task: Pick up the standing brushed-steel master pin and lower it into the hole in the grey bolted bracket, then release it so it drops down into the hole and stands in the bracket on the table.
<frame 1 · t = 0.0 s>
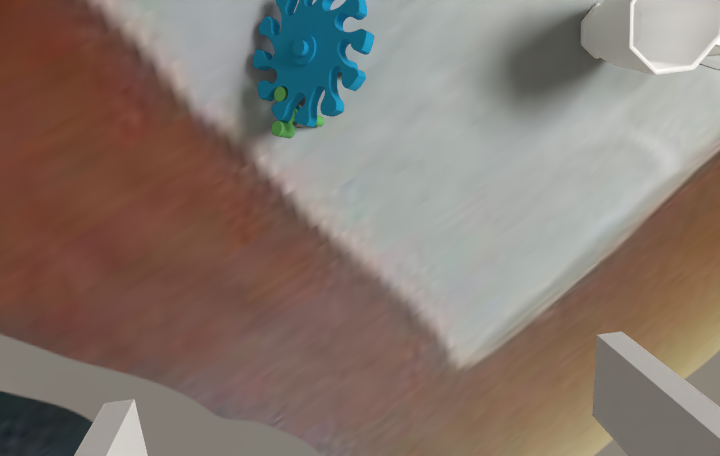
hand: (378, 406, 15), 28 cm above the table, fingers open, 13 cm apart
gear: (305, 61, 39), on the table
cup: (620, 35, 41), on the table
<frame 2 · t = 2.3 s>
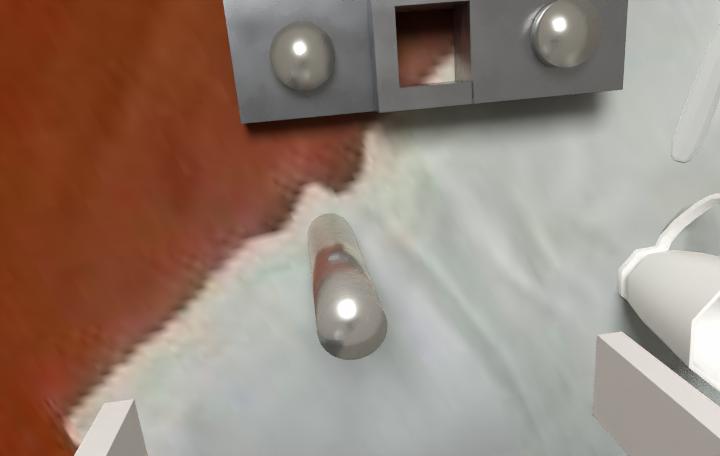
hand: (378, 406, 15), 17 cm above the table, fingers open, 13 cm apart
grey bolted bracket: (420, 48, 28), on the table
master pin: (329, 235, 31), on the table
cup: (653, 254, 34), on the table
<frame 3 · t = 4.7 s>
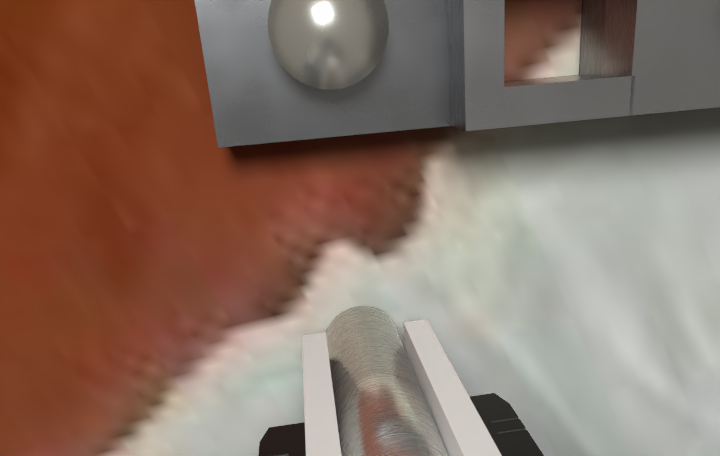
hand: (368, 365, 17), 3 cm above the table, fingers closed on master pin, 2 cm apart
grey bolted bracket: (525, 18, 17), on the table
master pin: (361, 339, 18), point 1 cm above the table, touching gripper
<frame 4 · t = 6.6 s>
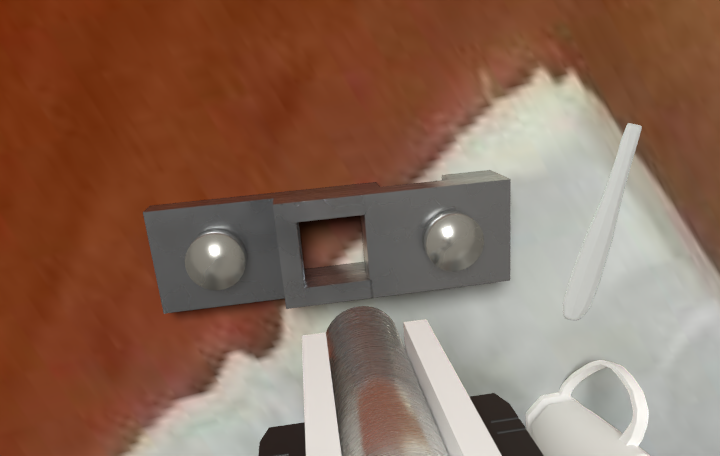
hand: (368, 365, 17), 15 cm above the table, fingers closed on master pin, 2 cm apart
grey bolted bracket: (330, 236, 31), on the table
master pin: (361, 340, 18), point 13 cm above the table, touching gripper
butter knife: (626, 117, 32), on the table
cup: (558, 398, 37), on the table
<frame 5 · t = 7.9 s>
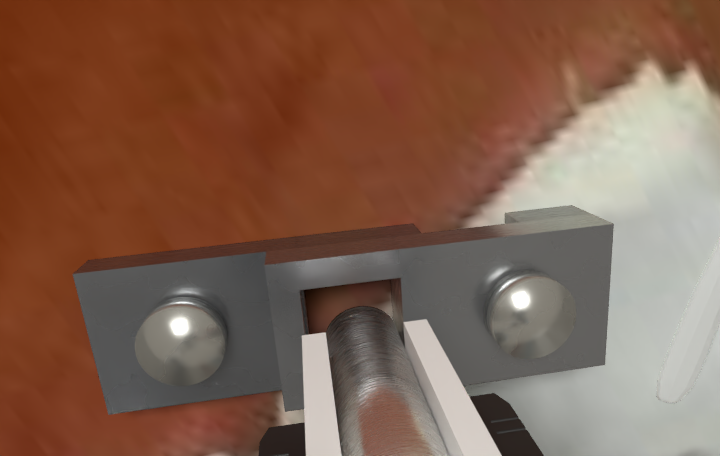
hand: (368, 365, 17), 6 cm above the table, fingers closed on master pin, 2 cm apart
grey bolted bracket: (347, 298, 22), on the table
master pin: (361, 339, 18), point 4 cm above the table, touching gripper
when the fingers open (4 cm above the table, at t = 9.0 s): master pin drops 2 cm, resting in grey bolted bracket.
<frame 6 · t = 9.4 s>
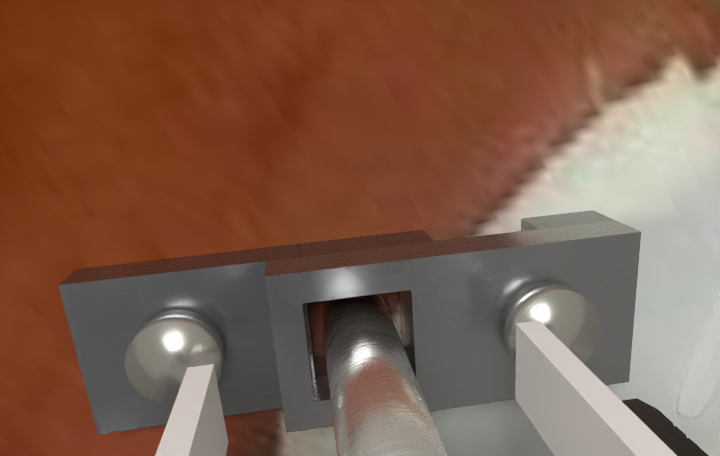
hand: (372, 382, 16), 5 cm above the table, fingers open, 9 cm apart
grey bolted bracket: (353, 309, 21), on the table
master pin: (352, 309, 21), resting in grey bolted bracket
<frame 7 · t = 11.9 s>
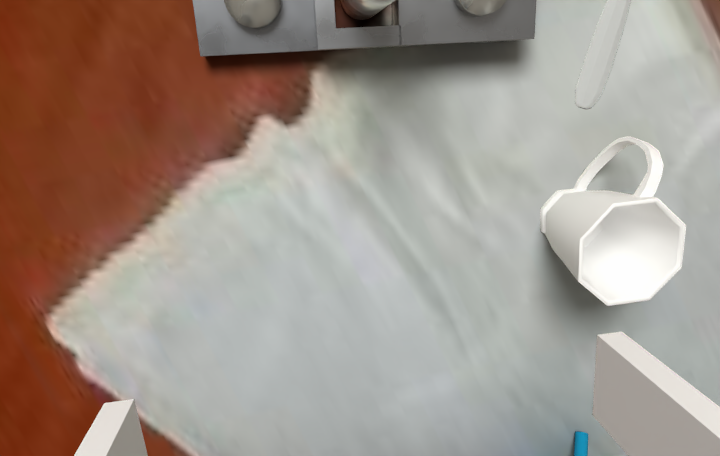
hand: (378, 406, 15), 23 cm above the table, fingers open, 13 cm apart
cup: (573, 196, 38), on the table
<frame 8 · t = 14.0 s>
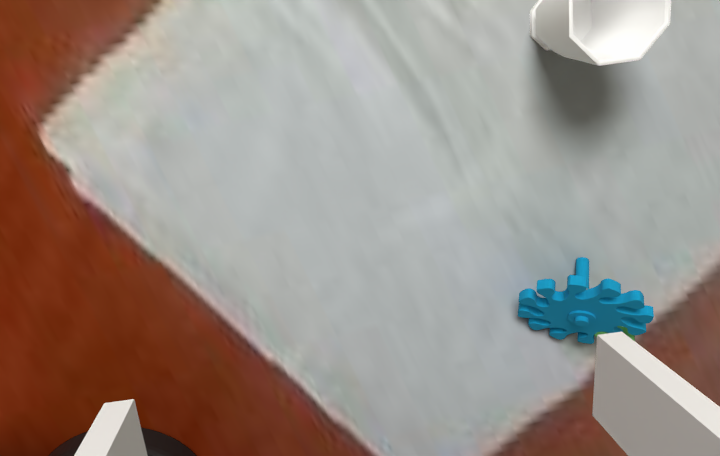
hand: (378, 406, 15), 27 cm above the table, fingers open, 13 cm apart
gear: (562, 294, 45), on the table
cup: (561, 0, 38), on the table
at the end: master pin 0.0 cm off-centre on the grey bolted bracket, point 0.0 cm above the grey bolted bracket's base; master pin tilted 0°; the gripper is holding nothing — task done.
